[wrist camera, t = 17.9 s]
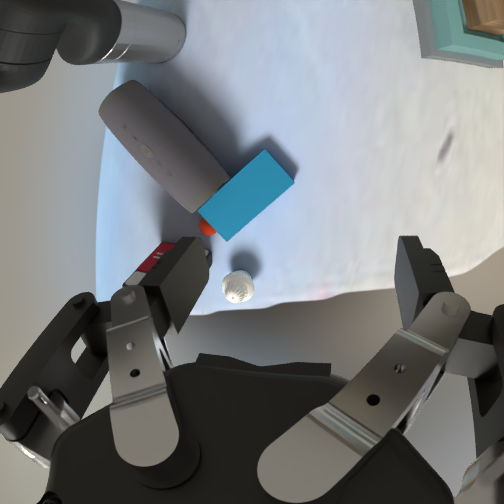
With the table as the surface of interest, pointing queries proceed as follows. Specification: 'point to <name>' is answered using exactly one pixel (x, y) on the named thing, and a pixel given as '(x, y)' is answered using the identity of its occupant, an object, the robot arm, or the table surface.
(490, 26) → the walnut brick
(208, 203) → the blue rectangular block
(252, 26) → the table surface
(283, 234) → the table surface
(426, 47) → the tower base
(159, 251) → the color panel box
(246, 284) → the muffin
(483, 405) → the robot arm
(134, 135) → the bluetooth speaker
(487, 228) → the table surface
